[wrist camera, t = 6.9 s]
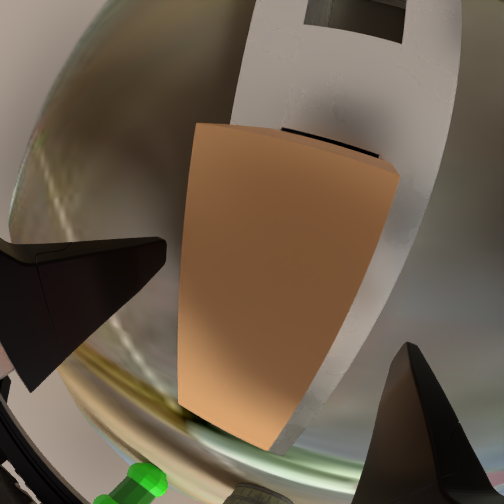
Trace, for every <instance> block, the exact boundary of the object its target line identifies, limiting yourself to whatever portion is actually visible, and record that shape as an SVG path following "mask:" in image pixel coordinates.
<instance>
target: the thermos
mask: <svg viewBox="0 0 504 504" xmlns="http://www.w3.org/2000/svg"><path fill="white" fill-rule="evenodd" d="M223 504H293V502H292V501H290V500H289V499H288V498H286V497H284V496H283V495H280V494H278V493H276V492H274V491H271V490H268V489H266V488H263V487H259V486H256V485H252V484H247V483H240V484H237V486H236V488H235V490H234V491H233V493H232V494H231V495H230V496H229V497H227V499H226V500H225V502H224V503H223Z"/></svg>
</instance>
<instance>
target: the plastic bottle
mask: <svg viewBox="0 0 504 504" xmlns="http://www.w3.org/2000/svg"><path fill="white" fill-rule="evenodd" d="M167 488H168V483H167V479H166V474H164V473H163V472H162V471H161V470H160V469H158V468H157V467H156V466H154V465H152V464H151V463H135V464H133V465H131V466H130V468H129V470H128V473H127V477H126V478H125V479H124V480H123V481H122V482H121V483H120V484H119V485H118V486H117V487H116V488H115V489H114V490H113V491H112V492H111V493H110V494H109V495H100V496H98V497H97V498H96V499H95V500H94V502H93V504H150V503H151V502H152V501H153V500H154V499H155V498H156V497H159V496H161V495H163V494H164V493H165V492H166V491H167Z"/></svg>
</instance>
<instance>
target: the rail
mask: <svg viewBox="0 0 504 504" xmlns="http://www.w3.org/2000/svg"><path fill="white" fill-rule="evenodd" d="M332 1H333V0H256V3H255V8H254V12H253V16H252V20H251V24H250V29H249V33H248V37H247V42H246V46H245V51H244V55H243V60H242V65H241V69H240V74H239V79H238V84H237V89H236V94H235V99H234V105H233V110H232V115H231V121H230V125H242V126H253V127H263V128H271V129H276V130H280V131H285V132H289V133H293V134H297V135H301V136H305V134H306V133H309V134H313V135H317V136H321V137H324V138H328V139H331V140H335V141H338V142H342V143H345V144H348V145H352V146H355V147H358V148H361V149H364V150H367V151H370V152H373V153H376V154H379V158H378V159H381V160H384V161H386V162H389V163H392V164H393V166H394V167H395V169H396V170H397V172H398V173H399V175H400V180H399V183H398V186H397V189H396V193H395V196H394V199H393V202H392V205H391V208H390V211H389V214H388V217H387V219H386V222H385V225H384V228H383V231H382V233H381V236H380V239H379V241H378V244H377V247H376V249H375V252H374V254H373V257H372V259H371V262H370V264H369V267H368V269H367V272H366V274H365V276H364V279H363V281H362V283H361V286H360V288H359V290H358V292H357V295H356V297H355V299H354V301H353V303H352V306H351V308H350V310H349V312H348V314H347V316H346V318H345V320H344V322H343V325H342V327H341V329H340V331H339V333H338V335H337V337H336V339H335V341H334V342H333V344H332V346H331V348H330V350H329V352H328V354H327V356H326V358H325V359H324V361H323V363H322V365H321V367H320V369H319V370H318V372H317V374H316V376H315V378H314V379H313V381H312V383H311V384H310V386H309V388H308V390H307V391H306V393H305V395H304V396H303V398H302V400H301V401H300V403H299V405H298V406H297V408H296V409H295V411H294V413H293V414H292V416H291V417H290V419H289V420H288V422H287V423H286V425H285V427H284V428H283V430H282V431H281V433H280V434H279V435H278V437H277V438H276V440H275V441H274V443H273V444H272V446H271V447H270V449H269V450H268V451H271V452H273V453H275V454H278V455H280V456H283V455H284V454H285V453H286V451H287V450H288V449H289V448H290V447H291V446H292V444H293V443H294V442H295V441H296V439H297V438H298V437H299V436H300V435H301V433H302V432H303V431H304V430H305V428H306V427H307V426H308V424H309V423H310V422H311V421H312V419H313V418H314V417H315V415H316V414H317V413H318V411H319V410H320V409H321V407H322V406H323V404H324V403H325V402H326V400H327V399H328V397H329V396H330V395H331V393H332V392H333V390H334V389H335V387H336V386H337V384H338V383H339V381H340V380H341V378H342V377H343V375H344V374H345V372H346V371H347V369H348V368H349V366H350V364H351V363H352V361H353V360H354V358H355V356H356V355H357V353H358V351H359V350H360V348H361V346H362V345H363V343H364V341H365V340H366V338H367V336H368V334H369V333H370V331H371V329H372V327H373V325H374V324H375V322H376V320H377V318H378V316H379V314H380V312H381V311H382V309H383V307H384V305H385V303H386V301H387V299H388V297H389V295H390V293H391V291H392V289H393V287H394V285H395V283H396V280H397V278H398V276H399V274H400V272H401V270H402V267H403V265H404V263H405V261H406V258H407V256H408V254H409V251H410V249H411V247H412V244H413V242H414V239H415V237H416V234H417V232H418V229H419V226H420V224H421V221H422V218H423V216H424V213H425V210H426V207H427V204H428V201H429V198H430V195H431V192H432V189H433V186H434V183H435V180H436V176H437V173H438V170H439V166H440V163H441V159H442V155H443V151H444V147H445V143H446V139H447V135H448V130H449V126H450V121H451V116H452V111H453V105H454V100H455V94H456V87H457V80H458V71H459V62H460V50H461V32H462V0H370V1H375V2H379V3H383V4H387V5H391V6H395V7H399V8H402V9H406V14H405V24H404V33H403V41H402V44H399V43H396V42H392V41H389V40H385V39H382V38H378V37H374V36H369V35H365V34H361V33H356V32H351V31H346V30H340V29H334V28H328V23H329V18H330V12H331V7H332Z"/></svg>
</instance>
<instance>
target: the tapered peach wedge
mask: <svg viewBox="0 0 504 504" xmlns="http://www.w3.org/2000/svg"><path fill="white" fill-rule="evenodd" d="M399 180H400V175H399V173H398V172H397V170H396V169H395V167H394V166H393V164H392V163H389V162H386V161H384V160H381V159H378V158H375V157H372V156H369V155H366V154H363V153H360V152H357V151H354V150H351V149H348V148H345V147H341V146H338V145H335V144H331V143H328V142H324V141H320V140H317V139H313V138H309V137H305V136H301V135H297V134H293V133H289V132H285V131H280V130H276V129H271V128H263V127H253V126H242V125H230V124H214V123H196V128H195V134H194V141H193V148H192V155H191V163H190V171H189V179H188V187H187V196H186V206H185V216H184V227H183V239H182V252H181V268H180V286H179V310H178V404H180V405H182V406H183V407H185V408H186V409H188V410H190V411H191V412H193V413H195V414H196V415H198V416H200V417H201V418H203V419H205V420H207V421H208V422H210V423H212V424H214V425H215V426H217V427H219V428H221V429H223V430H225V431H227V432H228V433H230V434H232V435H234V436H236V437H238V438H240V439H242V440H244V441H246V442H248V443H250V444H253V445H255V446H257V447H259V448H261V449H263V450H266V451H268V450H269V449H270V447H271V446H272V444H273V443H274V441H275V440H276V438H277V437H278V435H279V434H280V433H281V431H282V430H283V428H284V427H285V425H286V423H287V422H288V420H289V419H290V417H291V416H292V414H293V413H294V411H295V409H296V408H297V406H298V405H299V403H300V401H301V400H302V398H303V396H304V395H305V393H306V391H307V390H308V388H309V386H310V384H311V383H312V381H313V379H314V378H315V376H316V374H317V372H318V370H319V369H320V367H321V365H322V363H323V361H324V359H325V358H326V356H327V354H328V352H329V350H330V348H331V346H332V344H333V342H334V341H335V339H336V337H337V335H338V333H339V331H340V329H341V327H342V325H343V322H344V320H345V318H346V316H347V314H348V312H349V310H350V308H351V306H352V303H353V301H354V299H355V297H356V295H357V292H358V290H359V288H360V286H361V283H362V281H363V279H364V276H365V274H366V272H367V269H368V267H369V264H370V262H371V259H372V257H373V254H374V252H375V249H376V247H377V244H378V241H379V239H380V236H381V233H382V231H383V228H384V225H385V222H386V219H387V217H388V214H389V211H390V208H391V205H392V202H393V199H394V196H395V193H396V189H397V186H398V183H399Z"/></svg>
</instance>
